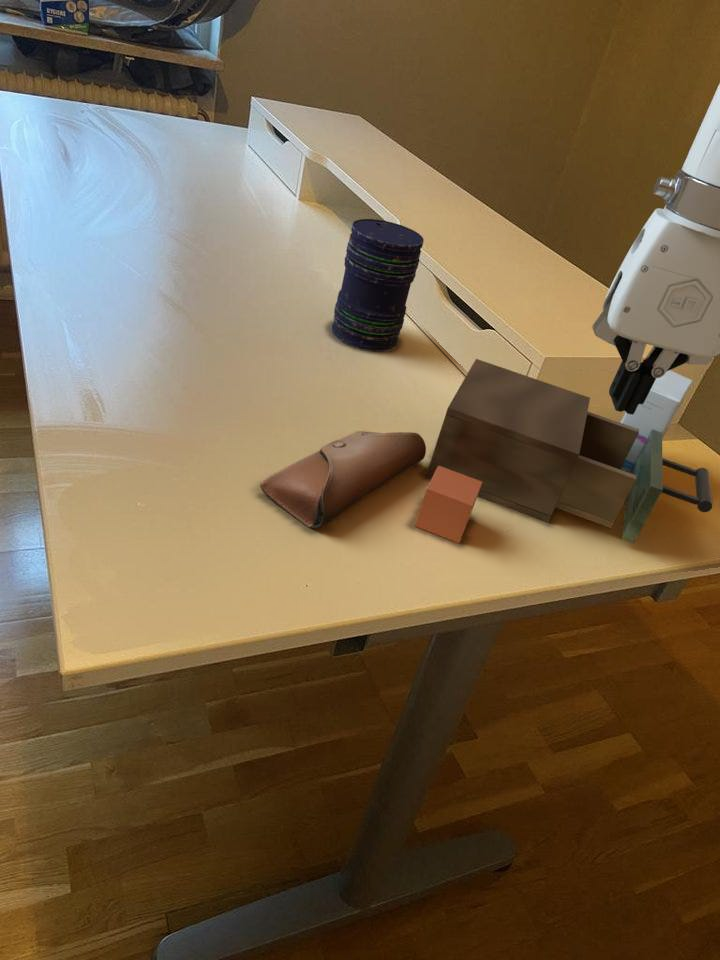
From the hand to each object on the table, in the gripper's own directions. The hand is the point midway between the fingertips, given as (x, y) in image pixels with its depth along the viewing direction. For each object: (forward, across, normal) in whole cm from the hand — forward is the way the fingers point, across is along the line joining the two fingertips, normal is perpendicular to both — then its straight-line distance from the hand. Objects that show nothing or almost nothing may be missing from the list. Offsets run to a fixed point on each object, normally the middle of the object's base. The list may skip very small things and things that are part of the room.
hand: (621, 405), depth 69 cm
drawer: (+14, +5, +5) cm, 15 cm away
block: (+15, -13, -5) cm, 20 cm away
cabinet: (+14, -7, +8) cm, 18 cm away
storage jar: (+15, -26, +35) cm, 46 cm away
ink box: (+15, +9, +16) cm, 23 cm away
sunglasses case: (+15, -23, -2) cm, 28 cm away
